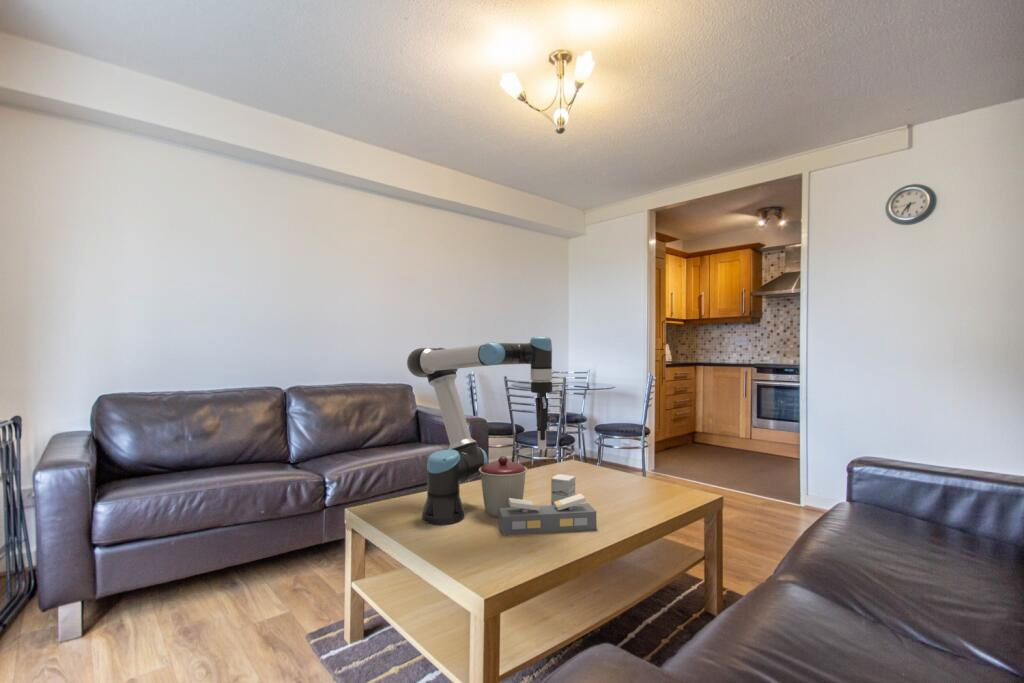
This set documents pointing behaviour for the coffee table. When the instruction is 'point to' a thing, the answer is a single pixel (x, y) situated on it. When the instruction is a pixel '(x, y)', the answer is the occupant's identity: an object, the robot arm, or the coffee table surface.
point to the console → (546, 519)
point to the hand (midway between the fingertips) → (542, 448)
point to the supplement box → (562, 487)
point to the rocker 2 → (569, 501)
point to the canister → (501, 484)
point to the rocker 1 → (524, 504)
